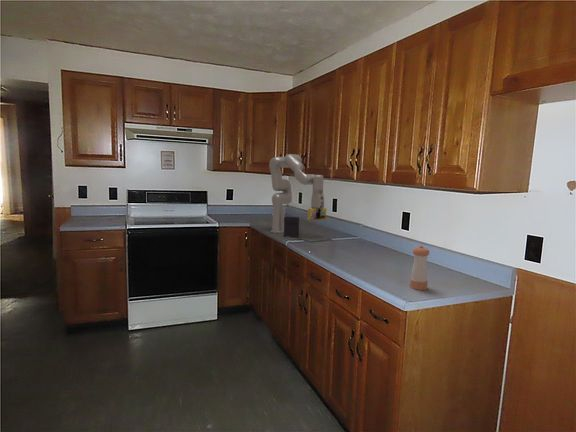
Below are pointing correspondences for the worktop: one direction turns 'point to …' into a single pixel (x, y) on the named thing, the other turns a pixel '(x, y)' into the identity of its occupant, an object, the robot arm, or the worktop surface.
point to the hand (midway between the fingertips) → (316, 217)
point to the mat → (316, 239)
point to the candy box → (313, 214)
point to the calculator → (291, 226)
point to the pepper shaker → (419, 269)
